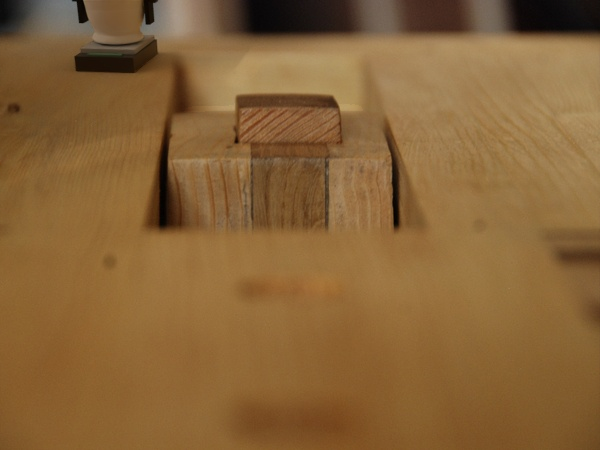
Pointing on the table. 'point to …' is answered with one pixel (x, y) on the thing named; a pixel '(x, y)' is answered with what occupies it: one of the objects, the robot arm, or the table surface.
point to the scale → (116, 56)
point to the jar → (116, 20)
